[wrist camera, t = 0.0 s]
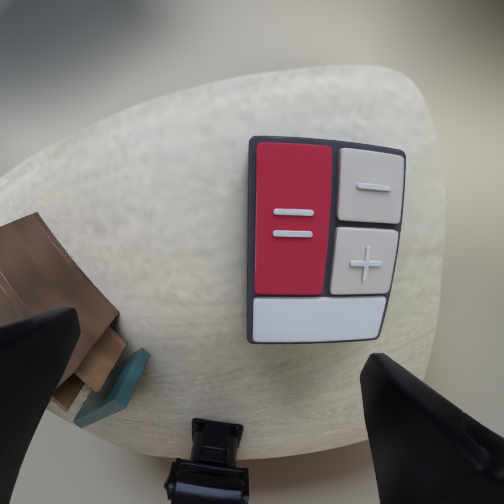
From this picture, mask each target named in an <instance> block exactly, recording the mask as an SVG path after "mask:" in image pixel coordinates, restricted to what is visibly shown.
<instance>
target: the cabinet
mask: <svg viewBox="0 0 504 504" xmlns="http://www.w3.org/2000/svg"><path fill="white" fill-rule="evenodd" d="M63 305H67V306H71V307H74V308H75V309H76V310H77V313H78V318H79V323H80V327H81V335H80V338H79V340H78V342H77V345H76V347H75V349H74V351H73V353H72V356H71V358H70V360H69V363H68V365H67V368H66V370H65V372H64V374H63V376H62V378H61V380H60V382H59V384H58V385H57V387H56V389H57V388H58V387H59V386H60V385H61V384H62V383H63V382H64V381H65V380H66V379H68V378H69V377H70V376H71V375H72V374H73V373H74V372H75V371H76V370H77V368H78V367H79V365H80V364H81V362H82V361H83V360H84V358H85V357H86V356H87V354H88V353H89V351H90V350H91V349H92V347H93V346H94V345H95V343H96V342H97V341H98V339H99V338H100V337H101V335H102V334H103V333H104V331H105V330H106V329H107V327H108V326H109V325H110V323H111V322H112V321H113V320H114V318H115V317H116V316H117V315H118V313H119V311H118V310H117V309H116V308H115V307H114V306H113V305H112V304H111V303H110V302H109V301H108V300H107V299H106V298H105V297H104V295H103V294H102V293H101V292H100V291H99V290H98V289H97V288H96V287H95V286H94V284H93V283H92V282H91V281H90V280H89V279H88V278H87V276H86V275H85V274H84V273H83V272H82V271H81V269H80V268H79V267H78V266H77V265H76V263H75V262H74V261H73V260H72V259H71V257H70V256H69V255H68V254H67V252H66V251H65V250H64V248H63V247H62V246H61V245H60V243H59V242H58V241H57V239H56V238H55V237H54V235H53V234H52V233H51V231H50V230H49V228H48V227H47V226H46V224H45V223H44V221H43V220H42V219H41V217H40V216H39V214H38V213H37V212H36V213H33V214H31V215H28V216H26V217H23V218H21V219H18V220H16V221H13V222H11V223H8V224H6V225H4V226H1V227H0V327H1V326H4V325H7V324H10V323H13V322H16V321H19V320H22V319H25V318H28V317H31V316H33V315H36V314H39V313H42V312H45V311H48V310H51V309H54V308H57V307H60V306H63ZM56 389H55V390H56Z"/></svg>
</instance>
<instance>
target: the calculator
mask: <svg viewBox="0 0 504 504" xmlns="http://www.w3.org/2000/svg"><path fill="white" fill-rule="evenodd" d="M405 170H406V155H405V153H404V152H403V151H402V150H398V149H393V148H387V147H381V146H375V145H368V144H361V143H353V142H345V141H336V140H326V139H315V138H301V137H283V136H253V137H252V138H251V139H250V140H249V165H248V251H247V340H248V342H249V343H252V344H312V343H336V342H353V341H366V340H375V339H377V338H378V337H379V336H380V333H381V329H382V325H383V322H384V318H385V313H386V309H387V305H388V301H389V296H390V291H391V286H392V281H393V276H394V271H395V265H396V259H397V253H398V246H399V239H400V231H401V223H402V214H403V203H404V189H405Z"/></svg>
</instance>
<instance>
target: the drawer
mask: <svg viewBox="0 0 504 504" xmlns="http://www.w3.org/2000/svg"><path fill="white" fill-rule="evenodd" d="M126 345H127V342H125V341H124V340H123V339H122V338H121V337H120V336H119V335H118V334H117V333H116V332H115V331H114V330H113V329H112V328H111V327H110V326H108V327H107V329H106V330H105V331H104V333H103V334H102V335H101V337H100V338H99V339H98V341H97V342H96V343H95V345H94V346H93V347H92V349H91V350H90V351H89V353H88V354H87V356H86V357H85V358H84V360H83V361H82V362H81V364H80V365H79V367H78V368H77V370H76V371H75V372H74V373H73V374H72V375H71V376H70V377H69V378H68V379H66V380H65V381H64V382H63V383H62V384H61V385H60V386H59V387H58V388H57V389H56V390H55V391H54V393H53V395H52V397H51V399H52V400H53V401H54V402H55V403H56V404H57V405H59V406H60V407H61V408H62V409H63V410H64V411H68V410H69V408H70V407H71V405H72V403H73V402H74V400H75V398H76V397H77V395H78V393H79V392H80V390H81V389H82V387H83V385H84V384H85V383H86V384H87V385H88V386H89V387H90V388H92V389H91V391H90V393H89V394H88V396H87V398H86V399H85V401H84V403H83V405H82V406H81V408H80V410H79V412H78V413H77V415H76V417H75V419H74V421H73V422H74V423H75V424H76V425H78V426H79V427H80V428H82V427H85V426H87V425H89V424H92V423H94V422H96V421H99V420H101V419H103V418H105V417H108V416H110V415H112V414H114V413H116V412H118V411H120V410H123V409H125V408H126V407H127V404H128V402H129V400H130V398H131V396H132V393H133V391H134V389H135V387H136V385H137V383H138V380H139V378H140V376H141V374H142V372H143V370H144V368H145V366H146V363H147V361H148V359H149V357H150V354H148V353H147V352H146V351H145V350H144V349H143V348H141V349H140V350H138V351H137V352H136V353H134V354H133V355H131V356H130V357H129V358H127V359H126V360H125V361H123V362H122V363H121V364H119V365H118V366H116V367H115V368H114V369H112V368H113V367H114V365H115V363H116V362H117V360H118V358H119V357H120V355H121V353H122V352H123V350H124V348H125V347H126Z"/></svg>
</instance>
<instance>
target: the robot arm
mask: <svg viewBox="0 0 504 504" xmlns="http://www.w3.org/2000/svg"><path fill="white" fill-rule="evenodd" d="M80 335H81V327H80V323H79V318H78V313H77V310H76V309H75V308H74V307H71V306H67V305H63V306H60V307H57V308H54V309H51V310H48V311H45V312H42V313H39V314H36V315H33V316H31V317H28V318H25V319H22V320H19V321H16V322H13V323H10V324H7V325H4V326H1V327H0V504H9V503H10V499H11V496H12V492H13V489H14V486H15V483H16V480H17V477H18V474H19V469H20V467H21V465H22V462H23V460H24V457H25V455H26V452H27V450H28V447H29V444H30V442H31V440H32V437H33V435H34V433H35V431H36V428H37V426H38V424H39V422H40V420H41V418H42V415H43V413H44V411H45V409H46V407H47V405H48V403H49V401H50V399H51V397H52V395H53V393H54V391H55V389H56V387H57V385H58V384H59V382H60V380H61V378H62V376H63V374H64V372H65V370H66V368H67V365H68V363H69V360H70V358H71V356H72V353H73V351H74V349H75V347H76V345H77V342H78V340H79V338H80ZM360 384H361V392H362V400H363V409H364V417H365V423H366V428H367V433H368V438H369V442H370V447H371V452H372V457H373V463H374V468H375V474H376V480H377V486H378V493H379V499H380V504H504V438H503V437H501V436H500V435H498V434H496V433H494V432H493V431H491V430H490V429H488V428H487V427H485V426H483V425H482V424H480V423H479V422H478V421H476V420H475V419H473V418H472V417H470V416H469V415H468V414H466V413H465V412H463V411H462V410H461V409H459V408H458V407H457V406H455V405H454V404H452V403H451V402H450V401H448V400H447V399H446V398H444V397H443V396H441V395H440V394H439V393H437V392H436V391H434V390H433V389H432V388H430V387H429V386H428V385H426V384H425V383H424V382H422V381H421V380H420V379H418V378H417V377H415V376H414V375H413V374H411V373H410V372H409V371H407V370H406V369H405V368H403V367H402V366H400V365H399V364H398V363H396V362H395V361H394V360H392V359H391V358H390V357H388V356H387V355H385V354H384V353H372V354H371V355H370V356H369V357H368V359H367V361H366V364H365V366H364V368H363V369H362V371H361V374H360ZM242 432H243V426H242V425H238V424H230V423H222V422H215V421H209V420H203V419H197V418H194V419H193V420H192V440H193V446H192V451H191V456H190V461H188V460H183V459H181V458H177V459H176V462H173V463H172V467H171V470H170V473H169V475H168V478H167V480H166V482H165V484H164V488H165V490H166V491H167V495H168V500H171V504H248V500H249V476H248V468H236V456H237V449H238V448H239V444H240V440H241V436H242Z"/></svg>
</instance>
